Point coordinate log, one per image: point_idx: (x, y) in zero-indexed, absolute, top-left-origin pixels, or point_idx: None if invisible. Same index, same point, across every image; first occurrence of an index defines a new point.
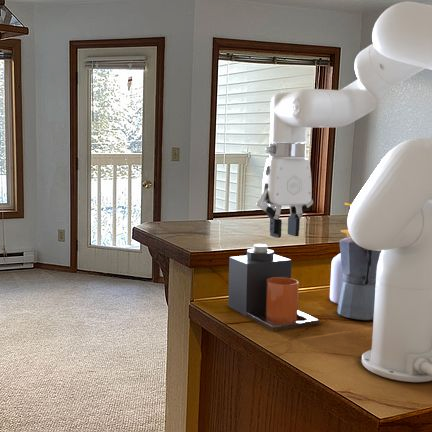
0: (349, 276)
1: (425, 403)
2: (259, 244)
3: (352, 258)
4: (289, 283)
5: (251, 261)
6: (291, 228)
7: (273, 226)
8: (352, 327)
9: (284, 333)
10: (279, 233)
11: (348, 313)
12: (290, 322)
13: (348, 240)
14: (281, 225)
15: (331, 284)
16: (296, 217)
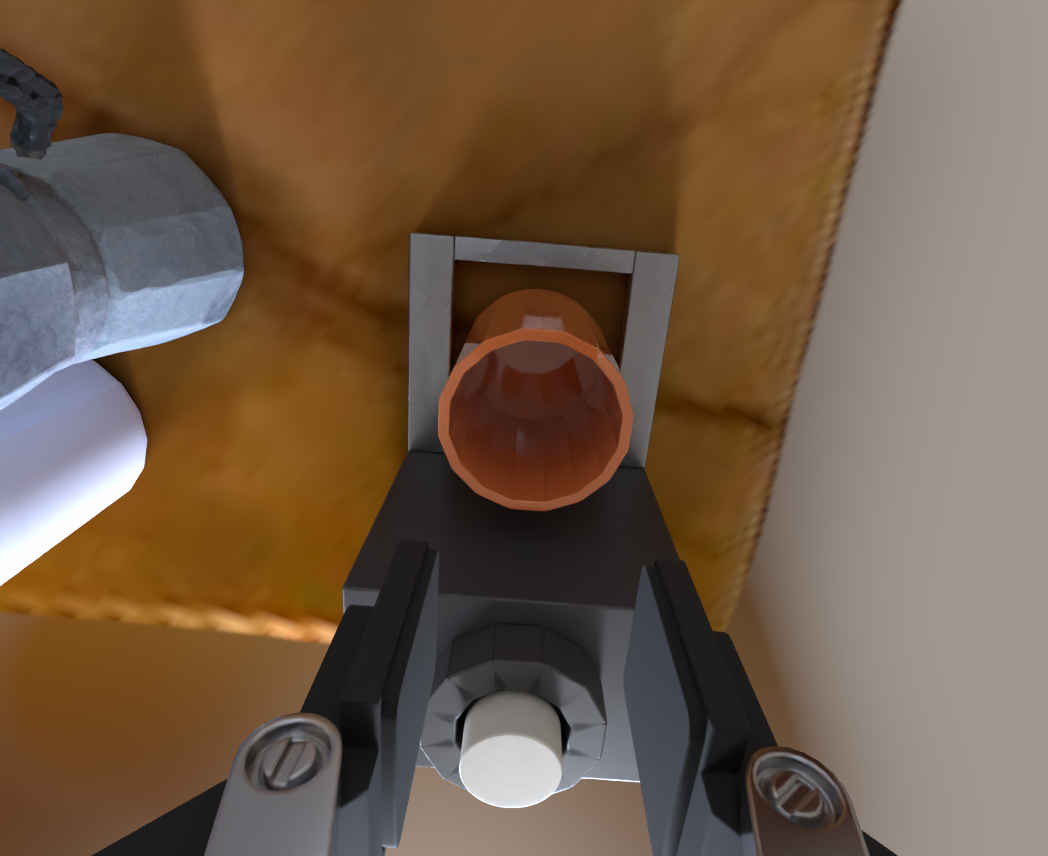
0: (73, 269)
1: None
2: (498, 793)
3: None
4: (459, 437)
5: (624, 656)
6: (425, 667)
7: (751, 695)
8: (288, 118)
9: (647, 206)
10: (685, 583)
11: (221, 218)
12: (563, 267)
13: None
14: (672, 658)
15: (93, 500)
16: (351, 754)
